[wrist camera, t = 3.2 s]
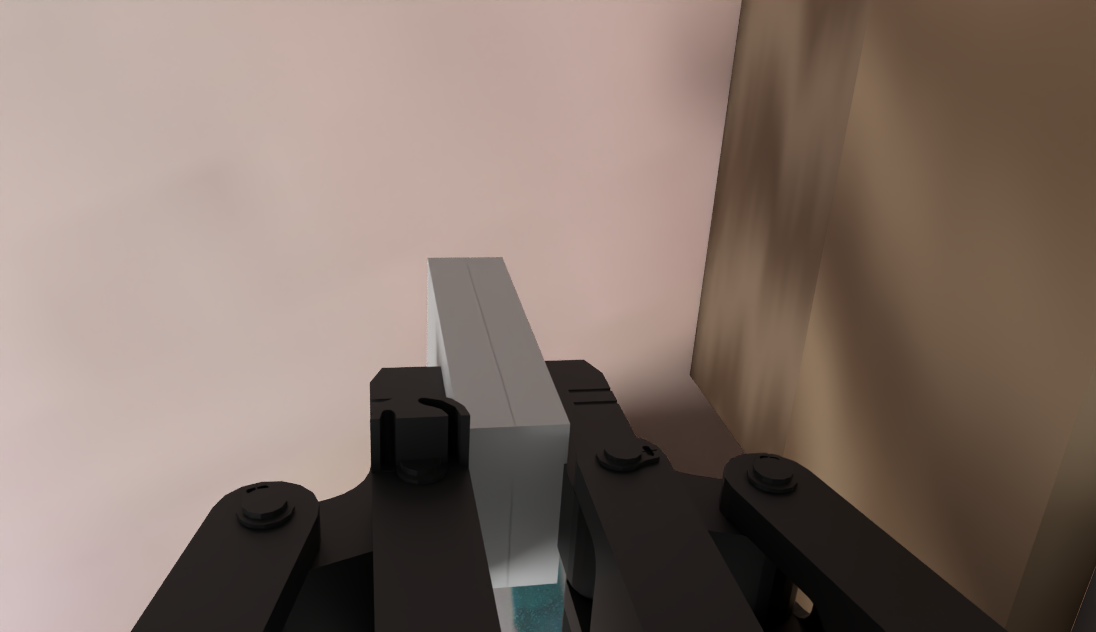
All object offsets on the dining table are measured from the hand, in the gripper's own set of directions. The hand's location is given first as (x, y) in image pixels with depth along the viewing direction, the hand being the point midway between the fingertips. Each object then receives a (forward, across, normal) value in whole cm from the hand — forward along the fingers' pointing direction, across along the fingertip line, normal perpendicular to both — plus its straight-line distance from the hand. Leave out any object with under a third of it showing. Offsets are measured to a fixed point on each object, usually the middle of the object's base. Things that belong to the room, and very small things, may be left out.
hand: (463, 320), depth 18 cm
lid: (-4, +10, 0) cm, 11 cm away
